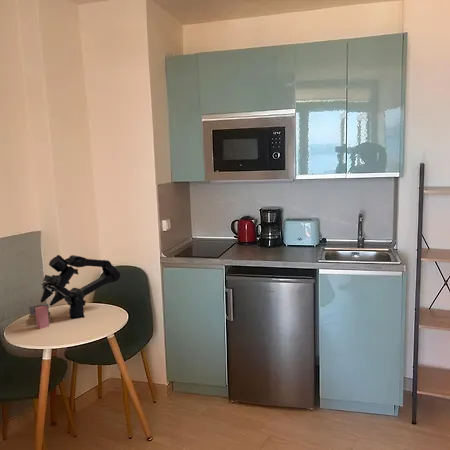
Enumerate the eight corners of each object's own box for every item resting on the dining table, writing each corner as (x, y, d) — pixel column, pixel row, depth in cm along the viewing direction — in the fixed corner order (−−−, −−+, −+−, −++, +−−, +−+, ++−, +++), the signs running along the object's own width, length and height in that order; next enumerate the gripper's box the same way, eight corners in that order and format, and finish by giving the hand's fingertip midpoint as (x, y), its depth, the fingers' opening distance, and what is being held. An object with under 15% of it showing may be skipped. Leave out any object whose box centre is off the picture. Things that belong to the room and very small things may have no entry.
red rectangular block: (45, 324, 231) (43, 305, 230) (49, 326, 229) (47, 306, 227) (36, 327, 228) (34, 307, 227) (40, 328, 226) (38, 309, 224)
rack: (50, 315, 245) (49, 303, 244) (51, 322, 234) (50, 309, 233) (29, 319, 241) (27, 306, 240) (29, 326, 230) (27, 312, 229)
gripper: (43, 265, 236) (24, 292, 230) (62, 270, 224) (42, 298, 217) (59, 277, 243) (41, 303, 237) (78, 283, 231) (59, 310, 224)
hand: (45, 303), depth 229 cm, fingers open, 9 cm apart
